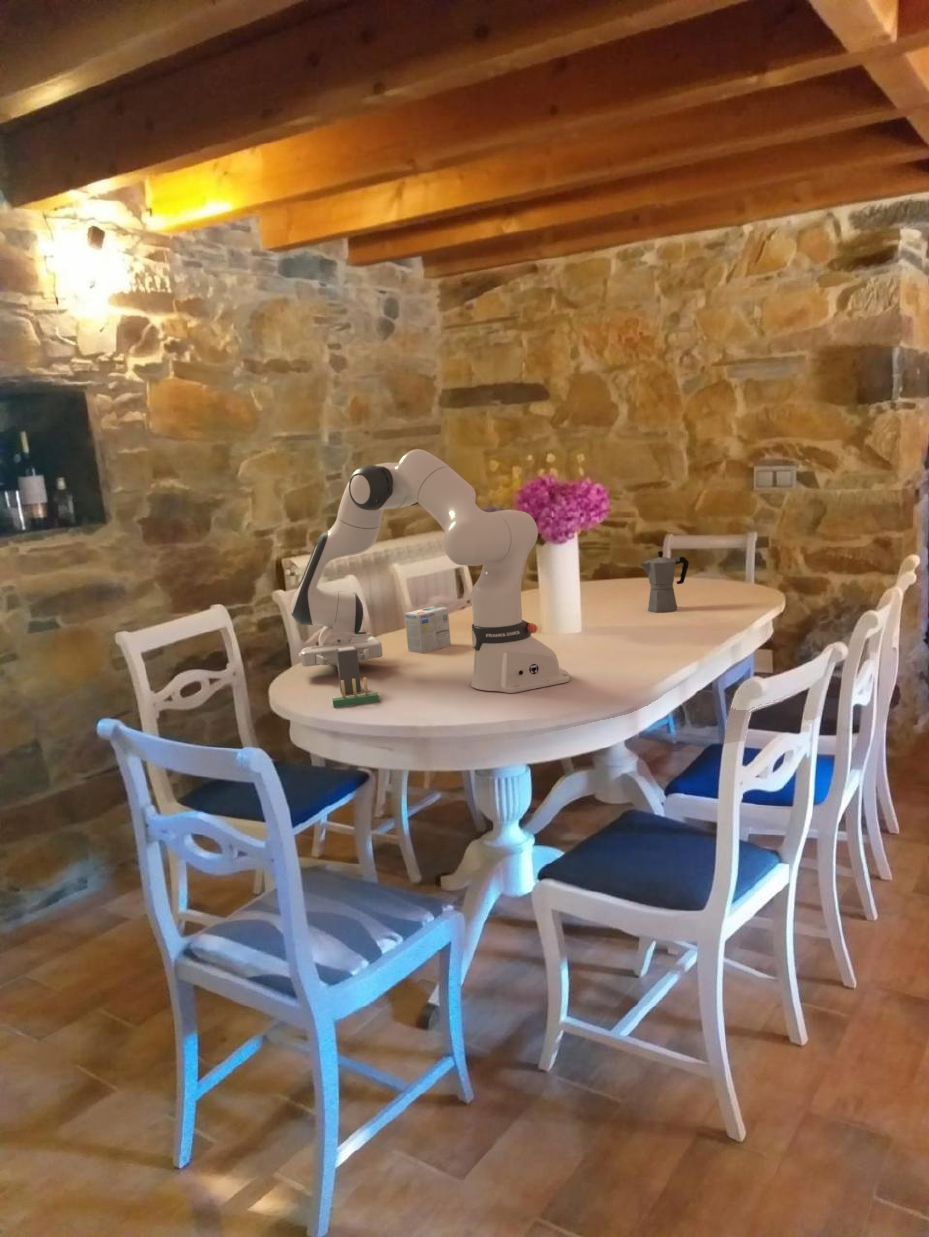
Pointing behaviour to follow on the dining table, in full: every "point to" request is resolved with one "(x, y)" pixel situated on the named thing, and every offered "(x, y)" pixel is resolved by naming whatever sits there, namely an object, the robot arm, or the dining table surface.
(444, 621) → the light bulb box
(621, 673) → the dining table surface
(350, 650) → the block
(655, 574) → the coffeepot
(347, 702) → the header strip
